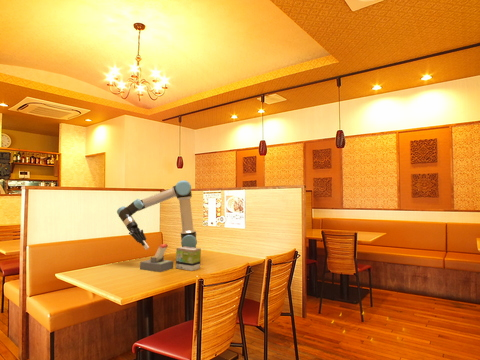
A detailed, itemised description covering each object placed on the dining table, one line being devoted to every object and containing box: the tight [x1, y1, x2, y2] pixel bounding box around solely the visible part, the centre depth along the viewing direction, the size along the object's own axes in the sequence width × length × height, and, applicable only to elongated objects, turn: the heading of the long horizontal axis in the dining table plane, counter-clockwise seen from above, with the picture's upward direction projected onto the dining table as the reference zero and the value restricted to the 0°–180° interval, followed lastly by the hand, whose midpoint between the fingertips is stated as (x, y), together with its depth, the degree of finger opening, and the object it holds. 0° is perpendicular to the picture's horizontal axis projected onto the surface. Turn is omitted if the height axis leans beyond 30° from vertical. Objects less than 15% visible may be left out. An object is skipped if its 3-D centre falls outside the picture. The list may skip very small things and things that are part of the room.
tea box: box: [175, 246, 202, 272], centre depth 219 cm, size 15×10×15 cm, turn 62°
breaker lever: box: [153, 243, 168, 261], centre depth 216 cm, size 3×6×13 cm, turn 154°
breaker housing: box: [139, 255, 174, 273], centre depth 217 cm, size 18×14×8 cm
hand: (147, 248), depth 221 cm, fingers closed
